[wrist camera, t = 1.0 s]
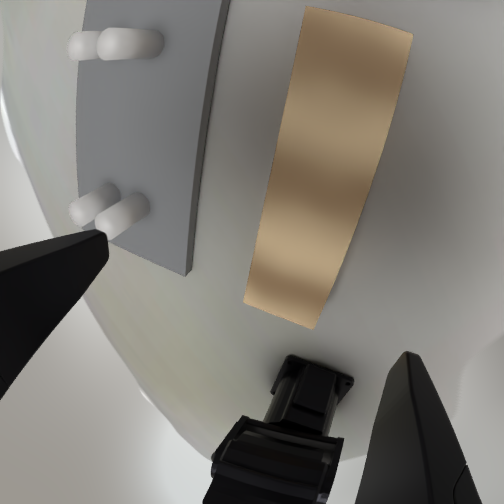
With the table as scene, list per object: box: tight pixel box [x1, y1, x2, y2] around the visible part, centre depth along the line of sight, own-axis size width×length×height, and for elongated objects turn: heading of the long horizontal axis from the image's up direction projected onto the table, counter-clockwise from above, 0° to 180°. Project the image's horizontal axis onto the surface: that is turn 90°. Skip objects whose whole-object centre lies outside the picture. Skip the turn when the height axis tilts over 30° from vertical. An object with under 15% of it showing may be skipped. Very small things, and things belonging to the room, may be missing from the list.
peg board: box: [67, 0, 230, 276], centre depth 19 cm, size 22×12×5 cm, turn 169°
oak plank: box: [243, 6, 413, 330], centre depth 17 cm, size 18×5×4 cm, turn 170°
